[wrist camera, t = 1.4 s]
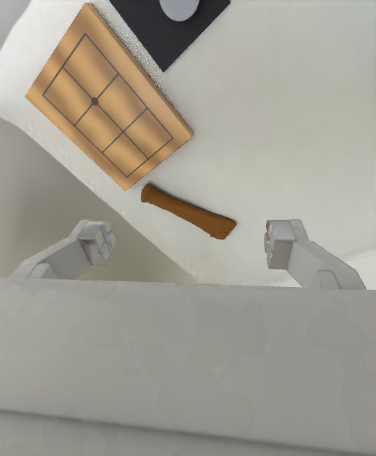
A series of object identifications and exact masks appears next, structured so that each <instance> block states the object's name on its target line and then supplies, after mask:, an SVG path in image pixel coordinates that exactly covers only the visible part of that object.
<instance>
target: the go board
mask: <svg viewBox="0 0 376 456" xmlns="http://www.w3.org/2000/svg"><path fill="white" fill-rule="evenodd" d="M25 97H26V98H27V99H28V100H29V101H30V102H31V103H32V104H33V105H34V106H35V107H36V108H37V109H38V110H39V111H40V112H42V113H43V114H44V115H45V116H46V117H47V118H48V119H49V120H50V121H51V122H52V123H53V124H54V125H55V126H56V127H57V128H59V129H60V130H61V131H62V132H63V133H64V134H65V135H66V136H67V137H68V138H69V139H70V140H71V141H72V142H73V143H74V144H76V145H77V146H78V147H79V148H80V149H81V150H82V151H83V152H84V153H85V154H86V155H87V156H88V157H89V158H90V159H91V160H93V161H94V162H95V163H96V164H97V165H98V166H99V167H100V168H101V169H102V170H103V171H104V172H105V173H106V174H107V175H108V176H110V177H111V178H112V179H113V180H114V181H115V182H116V183H117V184H118V185H119V186H120V187H121V188H122V189H123V190H124V191H126V190H127V189H129V188H130V187H131V186H132V185H134V184H135V183H136V182H137V181H139V180H140V179H141V178H142V177H144V176H145V175H146V174H147V173H149V172H150V171H151V170H152V169H154V168H155V167H156V166H157V165H158V164H160V163H161V162H162V161H163V160H165V159H166V158H167V157H168V156H170V155H171V154H172V153H173V152H175V151H176V150H177V149H178V148H180V147H181V146H182V145H183V144H184V143H186V142H187V141H188V140H189V139H191V138H192V136H193V132H192V131H191V130H190V128H189V127H188V126H187V125H186V123H185V122H184V121H183V119H182V118H181V117H180V116H179V114H178V113H177V112H176V111H175V109H174V108H173V107H172V105H171V104H170V103H169V102H168V100H167V99H166V98H165V96H164V95H163V94H162V93H161V91H160V90H159V89H158V88H157V86H156V85H155V84H154V82H153V81H152V80H151V79H150V77H149V76H148V75H147V74H146V72H145V71H144V70H143V68H142V67H141V66H140V65H139V63H138V62H137V61H136V60H135V58H134V57H133V56H132V54H131V53H130V52H129V51H128V49H127V48H126V47H125V46H124V44H123V43H122V42H121V40H120V39H119V38H118V37H117V35H116V34H115V33H114V31H113V30H112V29H111V28H110V26H109V25H108V24H107V23H106V21H105V20H104V19H103V17H102V16H101V15H100V14H99V12H98V11H97V10H96V9H95V7H94V6H93V5H92V4H91V3H85V4H84V5H83V7H82V8H81V10H80V11H79V13H78V15H77V16H76V18H75V19H74V21H73V22H72V24H71V25H70V27H69V29H68V30H67V32H66V33H65V35H64V36H63V38H62V39H61V41H60V43H59V44H58V46H57V47H56V49H55V50H54V52H53V53H52V55H51V57H50V58H49V60H48V61H47V63H46V64H45V66H44V67H43V69H42V71H41V72H40V74H39V75H38V77H37V78H36V80H35V81H34V83H33V85H32V86H31V88H30V89H29V91H28V92H27V94H26V95H25Z"/></svg>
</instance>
